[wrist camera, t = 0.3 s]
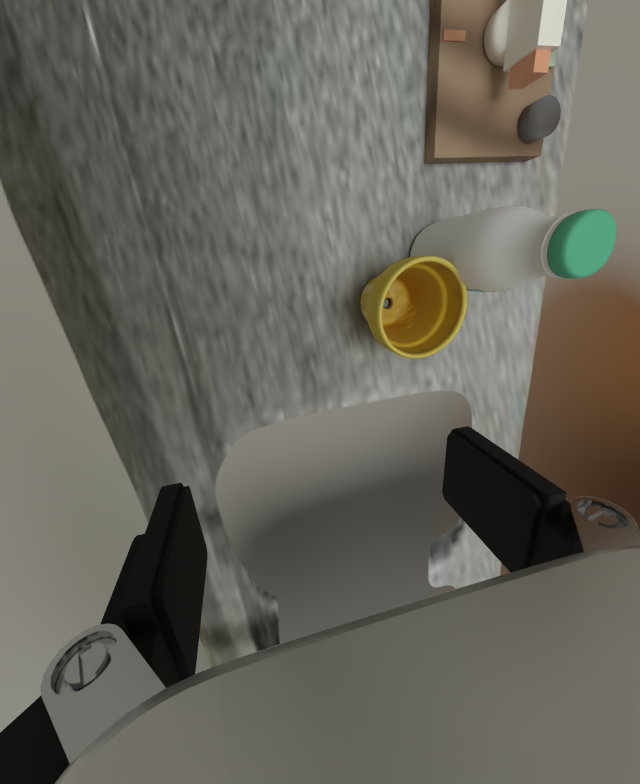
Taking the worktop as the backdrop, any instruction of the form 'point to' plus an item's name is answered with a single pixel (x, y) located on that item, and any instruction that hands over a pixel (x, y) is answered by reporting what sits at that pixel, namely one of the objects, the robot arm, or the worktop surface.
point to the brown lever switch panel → (480, 93)
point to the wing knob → (524, 38)
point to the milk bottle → (519, 245)
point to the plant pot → (415, 305)
